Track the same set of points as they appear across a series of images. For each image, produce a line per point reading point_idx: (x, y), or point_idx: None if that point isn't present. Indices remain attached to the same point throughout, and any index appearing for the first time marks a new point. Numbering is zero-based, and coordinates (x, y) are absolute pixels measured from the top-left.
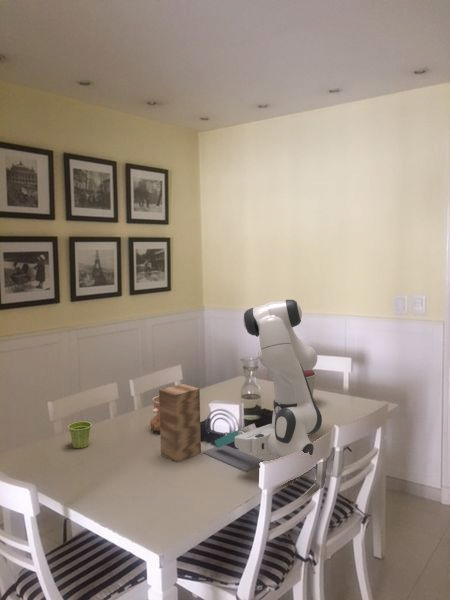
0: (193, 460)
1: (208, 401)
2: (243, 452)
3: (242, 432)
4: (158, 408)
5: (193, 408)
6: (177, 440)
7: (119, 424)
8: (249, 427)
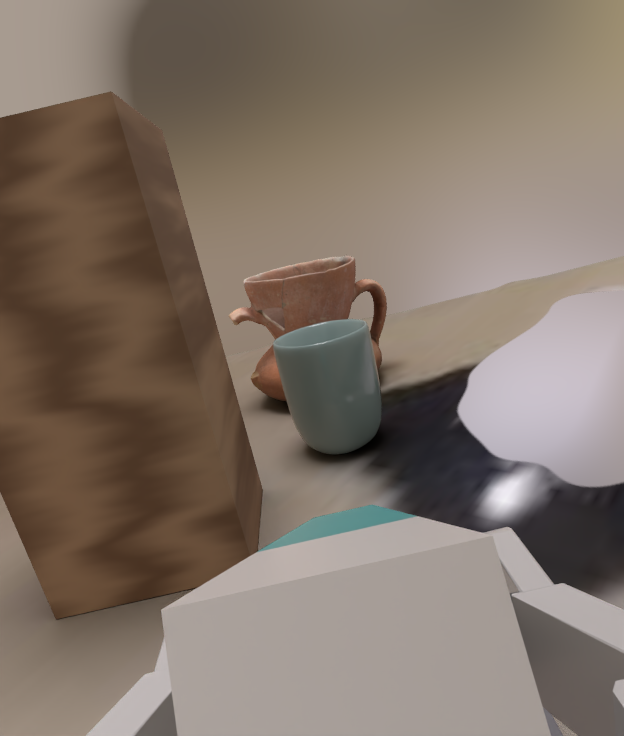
0: (133, 641)
1: (581, 292)
2: (550, 720)
3: (105, 725)
4: (253, 307)
5: (93, 266)
6: (13, 492)
7: (240, 365)
8: (178, 707)
